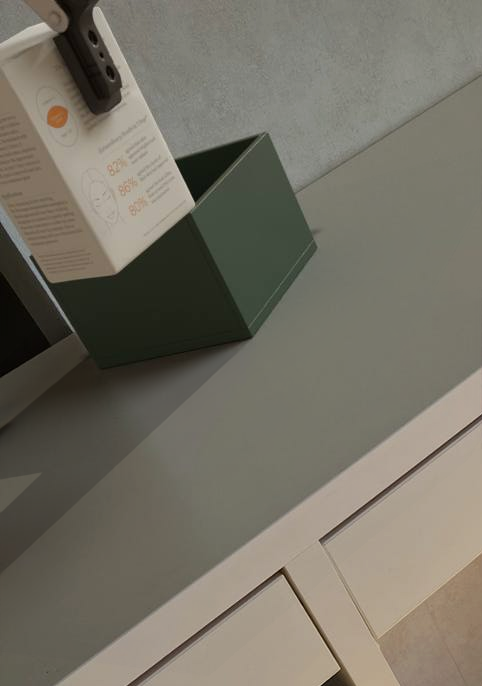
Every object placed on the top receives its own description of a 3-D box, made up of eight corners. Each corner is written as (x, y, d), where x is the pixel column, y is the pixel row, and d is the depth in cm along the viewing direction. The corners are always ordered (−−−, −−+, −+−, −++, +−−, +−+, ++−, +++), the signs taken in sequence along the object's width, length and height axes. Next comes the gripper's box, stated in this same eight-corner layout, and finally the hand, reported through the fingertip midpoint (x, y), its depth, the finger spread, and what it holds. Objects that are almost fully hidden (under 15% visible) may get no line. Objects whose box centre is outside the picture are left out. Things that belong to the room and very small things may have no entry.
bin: (98, 369, 87) (28, 256, 80) (175, 282, 96) (118, 175, 90) (252, 337, 81) (190, 212, 74) (318, 247, 91) (267, 130, 84)
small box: (131, 218, 63) (29, 24, 56) (200, 207, 60) (101, 1, 53) (46, 286, 58) (-77, 84, 51) (116, 277, 55) (-4, 62, 48)
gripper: (8, -373, 43) (200, 64, 54) (-225, -243, 49) (-6, 130, 60) (-100, -358, 38) (136, 118, 50) (-344, -216, 44) (-83, 185, 55)
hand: (57, 123), depth 55 cm, fingers closed on small box, 6 cm apart
